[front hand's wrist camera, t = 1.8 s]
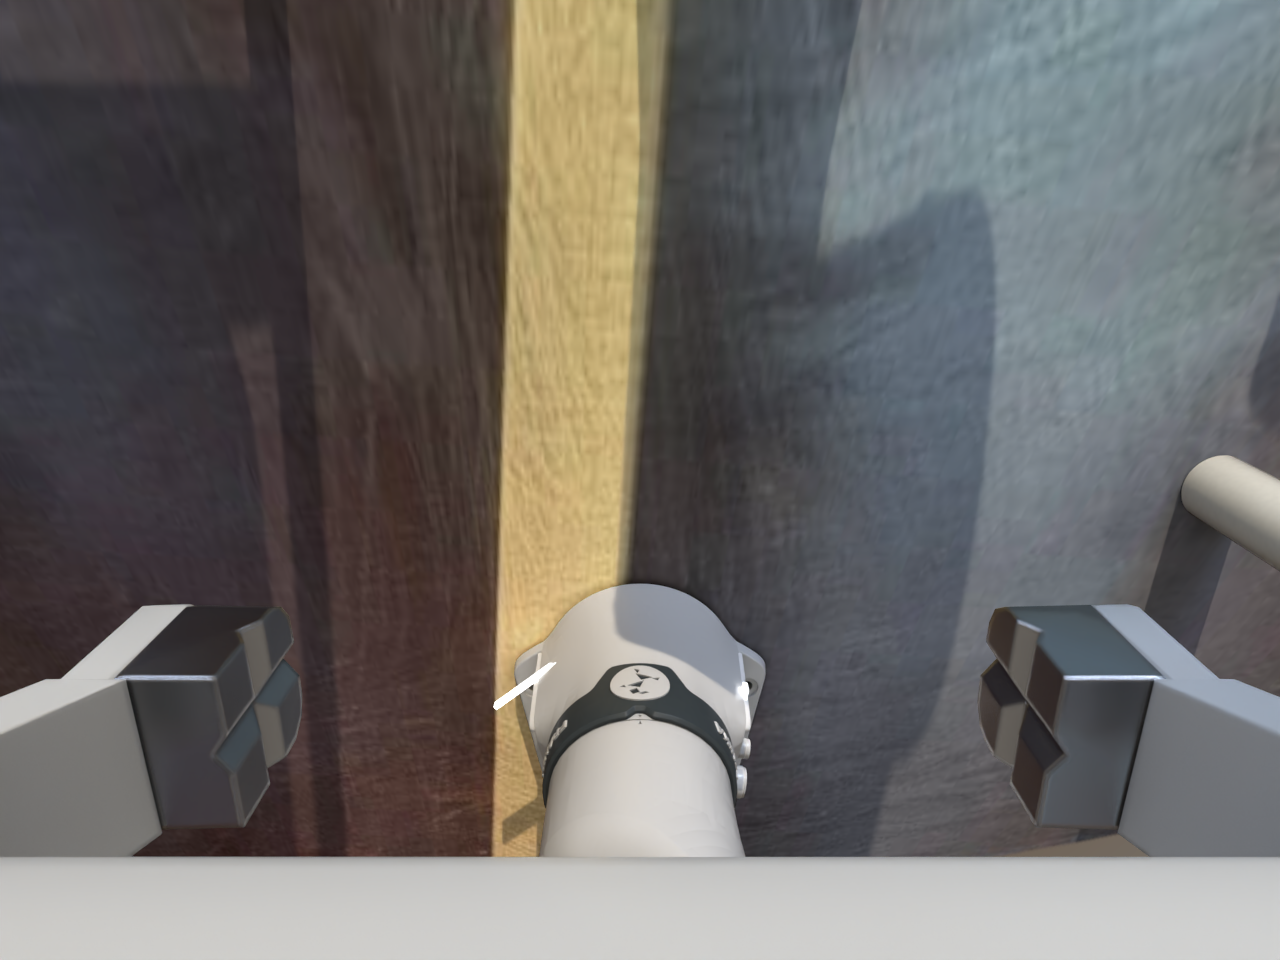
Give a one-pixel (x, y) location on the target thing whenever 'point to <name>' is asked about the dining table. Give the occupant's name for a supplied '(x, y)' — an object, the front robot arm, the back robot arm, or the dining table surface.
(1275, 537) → the cream cylinder
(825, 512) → the dining table surface
